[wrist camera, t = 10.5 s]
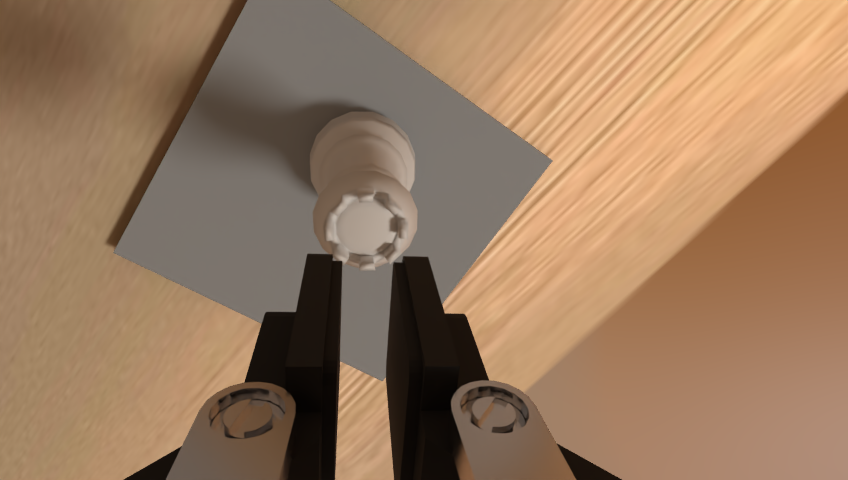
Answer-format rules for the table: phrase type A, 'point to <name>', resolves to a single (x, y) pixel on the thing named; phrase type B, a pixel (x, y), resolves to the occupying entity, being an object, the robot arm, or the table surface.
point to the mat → (291, 179)
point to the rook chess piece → (363, 189)
